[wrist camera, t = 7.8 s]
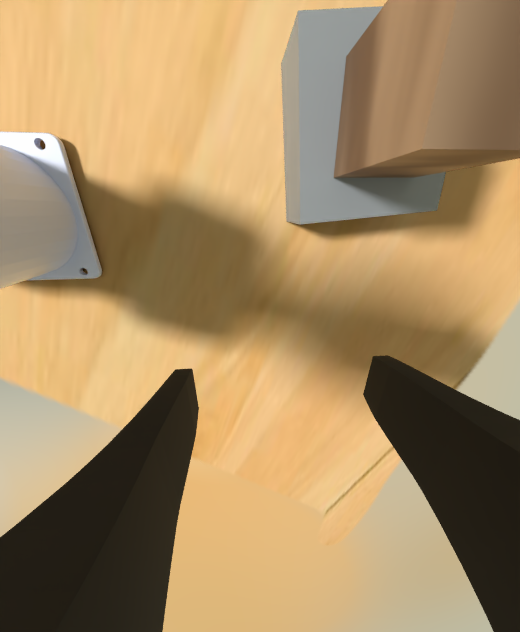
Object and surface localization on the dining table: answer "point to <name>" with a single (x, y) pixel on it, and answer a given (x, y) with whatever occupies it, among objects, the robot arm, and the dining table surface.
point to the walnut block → (431, 90)
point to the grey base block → (333, 128)
